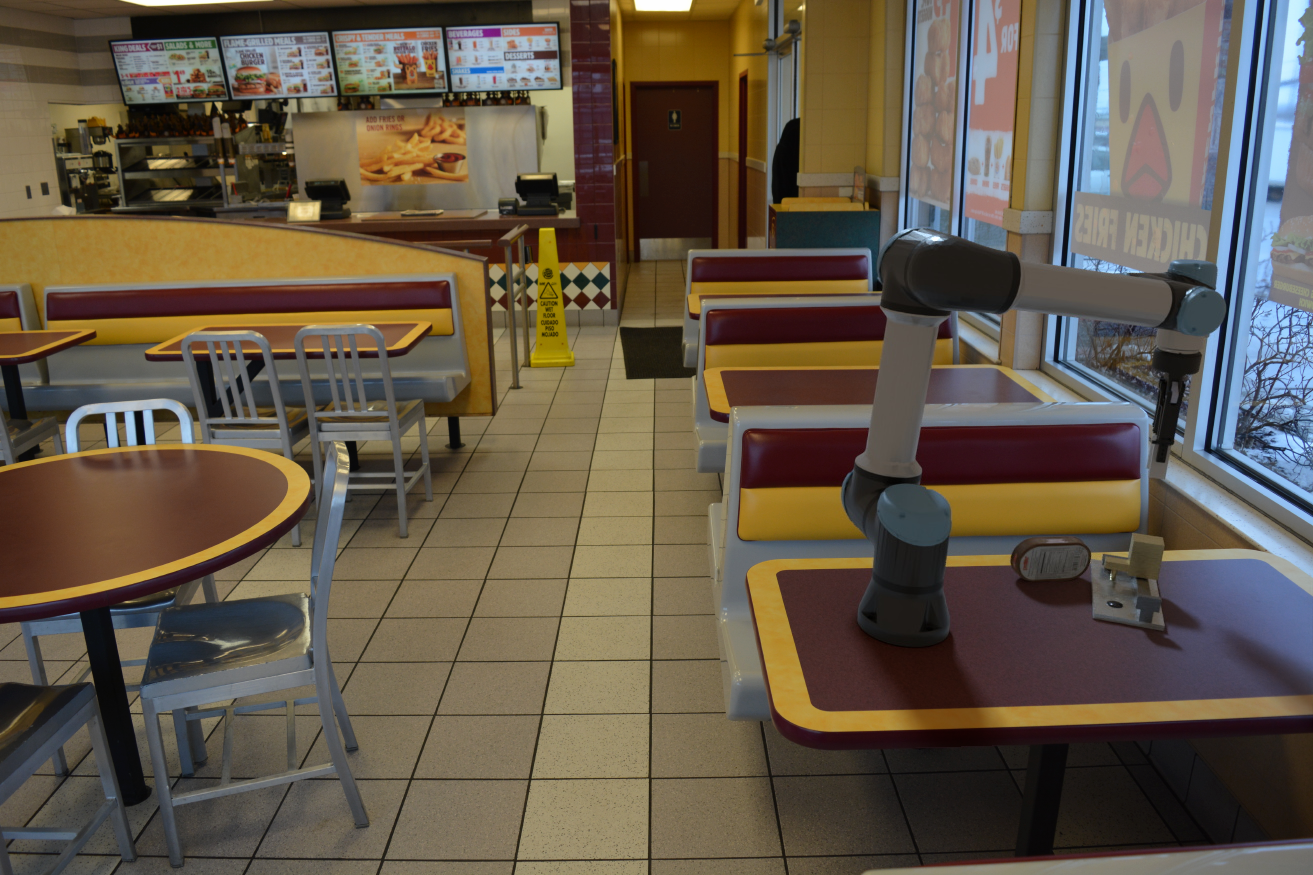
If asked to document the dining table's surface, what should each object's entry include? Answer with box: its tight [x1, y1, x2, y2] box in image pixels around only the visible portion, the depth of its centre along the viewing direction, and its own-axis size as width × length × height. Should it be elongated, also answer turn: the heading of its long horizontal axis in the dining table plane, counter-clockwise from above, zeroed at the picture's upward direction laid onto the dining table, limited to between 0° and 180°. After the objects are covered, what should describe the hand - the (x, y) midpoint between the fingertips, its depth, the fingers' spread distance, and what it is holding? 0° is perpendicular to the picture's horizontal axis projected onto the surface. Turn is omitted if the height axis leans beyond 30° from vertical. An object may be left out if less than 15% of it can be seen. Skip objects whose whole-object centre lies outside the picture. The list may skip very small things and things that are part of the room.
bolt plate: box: [1090, 558, 1166, 632], centre depth 174 cm, size 11×24×1 cm, turn 158°
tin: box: [1009, 535, 1092, 583], centre depth 179 cm, size 15×3×8 cm, turn 97°
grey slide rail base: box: [1101, 553, 1163, 624], centre depth 173 cm, size 8×24×5 cm, turn 158°
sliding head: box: [1104, 532, 1165, 581], centre depth 175 cm, size 9×4×9 cm, turn 68°
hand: (1155, 473), depth 176 cm, fingers open, 4 cm apart
